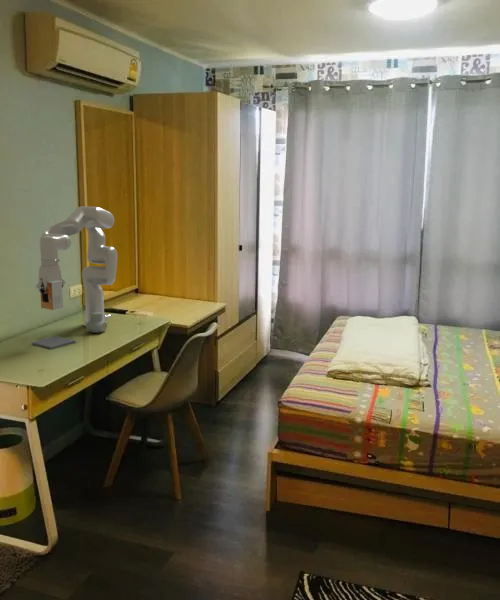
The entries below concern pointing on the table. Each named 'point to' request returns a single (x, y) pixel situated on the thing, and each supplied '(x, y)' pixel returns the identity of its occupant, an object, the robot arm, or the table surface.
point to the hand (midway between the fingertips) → (51, 300)
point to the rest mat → (54, 342)
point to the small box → (53, 296)
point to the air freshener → (96, 323)
